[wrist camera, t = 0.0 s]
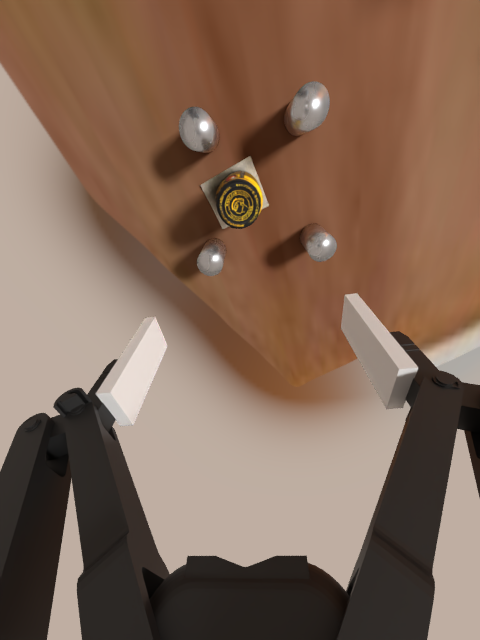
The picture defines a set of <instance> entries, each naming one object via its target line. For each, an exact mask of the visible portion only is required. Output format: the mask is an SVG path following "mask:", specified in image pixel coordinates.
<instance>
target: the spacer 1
mask: <svg viewBox="0 0 480 640" xmlns="http://www.w3.org/2000/svg"><path fill="white" fill-rule="evenodd" d="M179 132H180V136H181V139H182V141H183V142H184V144H185V145H186V146H187V147H188V148H190V149H191V150H194V151H198V152H203V153H210V152H212V151H213V150H215V148H216V147H217V145H218V143H219V130H218V127H217V125H216V123H215V122H214V121H213V120H212V118H211V117H210V116H209V115H208V114H207V113H206V112H205V111H204V110H203V109H201V108H199V107H190V108H188V109H187V110H185V111H184V112H183V114H182V116H181V118H180V121H179Z"/></svg>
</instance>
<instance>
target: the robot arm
mask: <svg viewBox="0 0 480 640" xmlns="http://www.w3.org/2000/svg"><path fill="white" fill-rule="evenodd" d="M341 329H342V331H343V333H344V334H345V336H346V338H347V340H348V342H349V343H350V345H351V347H352V349H353V351H354V352H355V354H356V356H357V358H358V359H359V361H360V363H361V365H362V367H363V368H364V370H365V372H366V374H367V376H368V377H369V379H370V381H371V383H372V384H373V386H374V388H375V390H376V391H377V393H378V395H379V397H380V399H381V400H382V402H383V404H384V406H385V408H386V409H392V408H403V406H404V403H405V401H407V402H408V403H409V405H410V406H411V409H410V411H409V413H408V416H407V418H406V422H405V425H404V428H403V431H402V434H401V437H400V439H399V442H398V445H397V448H396V451H395V454H394V457H393V460H392V463H391V465H390V468H389V471H388V474H387V477H386V480H385V483H384V486H383V488H382V491H381V494H380V497H379V500H378V503H377V506H376V509H375V511H374V514H373V517H372V520H371V523H370V526H369V529H368V532H367V535H366V537H365V540H364V543H363V546H362V549H361V552H360V554H359V557H358V560H357V562H356V565H355V567H354V570H353V573H352V576H351V579H350V581H349V584H348V587H347V590H346V591H345V590H344V589H343V588H342V587H341V585H340V584H339V583H338V582H337V581H336V580H335V579H334V578H333V577H331V576H330V575H329V574H327V573H326V572H325V571H323V570H322V569H320V568H318V567H317V566H315V565H312V564H310V563H308V562H307V556H275V557H272V558H269V559H267V560H264V561H262V562H259V563H257V564H254V565H251V566H249V567H242V566H239V565H237V564H234V563H232V562H229V561H227V560H224V559H222V558H219V557H217V556H188V557H187V564H186V565H183V566H182V567H180V568H178V569H177V570H175V571H174V572H173V573H171V574H169V572H168V570H167V567H166V565H165V563H164V562H163V560H162V558H161V557H160V555H159V553H158V550H157V548H156V545H155V543H154V540H153V536H152V534H151V531H150V528H149V525H148V523H147V520H146V517H145V514H144V511H143V508H142V506H141V503H140V500H139V497H138V494H137V491H136V488H135V486H134V483H133V480H132V477H131V474H130V472H129V469H128V466H127V463H126V460H125V457H124V455H123V452H122V449H121V446H120V443H119V440H118V438H117V435H116V432H115V430H114V428H113V427H112V425H113V423H114V422H115V420H116V421H117V423H118V424H119V425H120V426H129V425H134V422H135V420H136V418H137V415H138V413H139V410H140V408H141V406H142V404H143V401H144V399H145V397H146V395H147V392H148V390H149V387H150V385H151V383H152V380H153V378H154V376H155V374H156V371H157V369H158V367H159V364H160V362H161V360H162V358H163V355H164V353H165V350H166V348H167V343H166V341H165V339H164V336H163V334H162V332H161V329H160V327H159V325H158V322H157V320H156V317H148V318H145V319H144V320H143V322H142V323H141V325H140V327H139V328H138V330H137V331H136V333H135V334H134V336H133V337H132V339H131V341H130V342H129V343H128V345H127V347H126V348H125V350H124V351H123V352H122V354H121V356H120V357H119V359H116V360H113V361H112V362H111V363H110V364H109V365H107V367H106V368H105V369H104V371H103V373H102V374H101V375H100V377H99V379H98V380H97V381H96V383H95V384H94V386H93V387H92V388H91V390H90V391H89V393H88V394H86V393H85V392H84V391H83V389H82V388H74V389H71V390H69V391H67V392H65V393H64V394H62V395H61V396H60V397H59V398H58V399H57V400H56V401H55V403H54V408H55V409H56V410H57V411H58V412H59V413H60V414H61V415H58V416H55V417H52V418H50V417H49V416H48V415H47V414H45V413H40V414H36V415H34V416H32V417H30V418H29V419H27V420H26V421H25V422H24V423H23V424H22V425H21V426H20V427H19V428H18V430H17V432H16V434H15V437H14V439H13V442H12V444H11V447H10V449H9V452H8V454H7V456H6V459H5V462H4V464H3V466H2V469H1V471H0V640H47V634H48V628H49V622H50V615H51V608H52V602H53V595H54V588H55V582H56V575H57V569H58V563H59V556H60V549H61V543H62V536H63V530H64V523H65V517H66V510H67V504H68V497H69V490H70V484H71V477H72V484H73V491H74V498H75V506H76V512H77V520H78V527H79V534H80V542H81V549H82V556H83V563H84V570H83V573H82V574H81V575H80V577H79V578H78V583H77V598H78V607H79V616H80V624H81V634H82V640H427V636H428V630H429V624H430V618H431V612H432V606H433V600H434V591H435V582H434V578H433V575H432V568H433V561H434V556H435V550H436V544H437V539H438V533H439V528H440V522H441V516H442V511H443V504H444V498H445V494H446V488H447V482H448V477H449V471H450V465H451V460H452V454H453V448H454V443H455V437H456V431H457V429H461V430H464V431H465V436H466V440H467V445H468V449H469V453H470V458H471V462H472V466H473V470H474V475H475V479H476V483H477V488H478V493H479V497H480V385H475V384H468V383H463V382H461V381H460V380H459V379H458V378H456V377H455V376H454V375H452V374H449V373H447V372H444V371H439V370H438V369H437V368H436V367H435V366H434V364H433V363H432V362H431V361H430V360H429V359H428V358H427V357H426V356H425V355H424V354H423V352H422V351H421V350H419V348H418V347H417V346H416V345H414V343H413V342H412V340H411V339H410V338H409V337H408V336H406V335H404V334H402V333H401V332H399V331H398V332H389V331H388V330H387V329H386V328H385V327H384V325H383V324H382V323H381V322H380V321H379V319H378V318H377V317H376V316H375V314H374V313H373V312H372V311H371V310H370V308H369V307H368V306H367V305H366V304H365V302H364V301H363V300H362V299H361V298H360V296H359V295H358V294H357V293H356V294H347V295H345V298H344V307H343V315H342V324H341Z"/></svg>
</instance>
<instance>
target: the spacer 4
mask: <svg viewBox="0 0 480 640" xmlns="http://www.w3.org/2000/svg"><path fill="white" fill-rule="evenodd" d="M300 241H301V243H302V245H303V246H304V248H305V249H306V251H307V252H308V254H309V255H310V257H311V258H312V259H313V260H315V261H319V262H321V261H326V260H328V259H329V258H331V257H332V256H333V254H334V253H335V251H336V247H337V244H336V240H335V239H334V238H333V237H332V236H331V235H330V234H329V233H328V232H327V231H326V230H324V229H323V228H322V227H321V226H320V225H318V224H309V225H307V226H306V227H304V228H303V230H302V231H301V234H300Z"/></svg>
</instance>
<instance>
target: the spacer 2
mask: <svg viewBox="0 0 480 640" xmlns="http://www.w3.org/2000/svg"><path fill="white" fill-rule="evenodd" d="M225 254H226V246H225V244H224V243H223V242H222V241H221V240H219V239H216V238H212V239H209V240H208V241H207V242H206V243H205V245H204V247H203V249H202V251H201V253H200V255H199V257H198V259H197V266H198V269H199V270H200V271H201V272H202V273H203V274H205V275H207V276H214V275H217V274H218V273H220V271H221V270H222V267H223V263H224V259H225Z"/></svg>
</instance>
